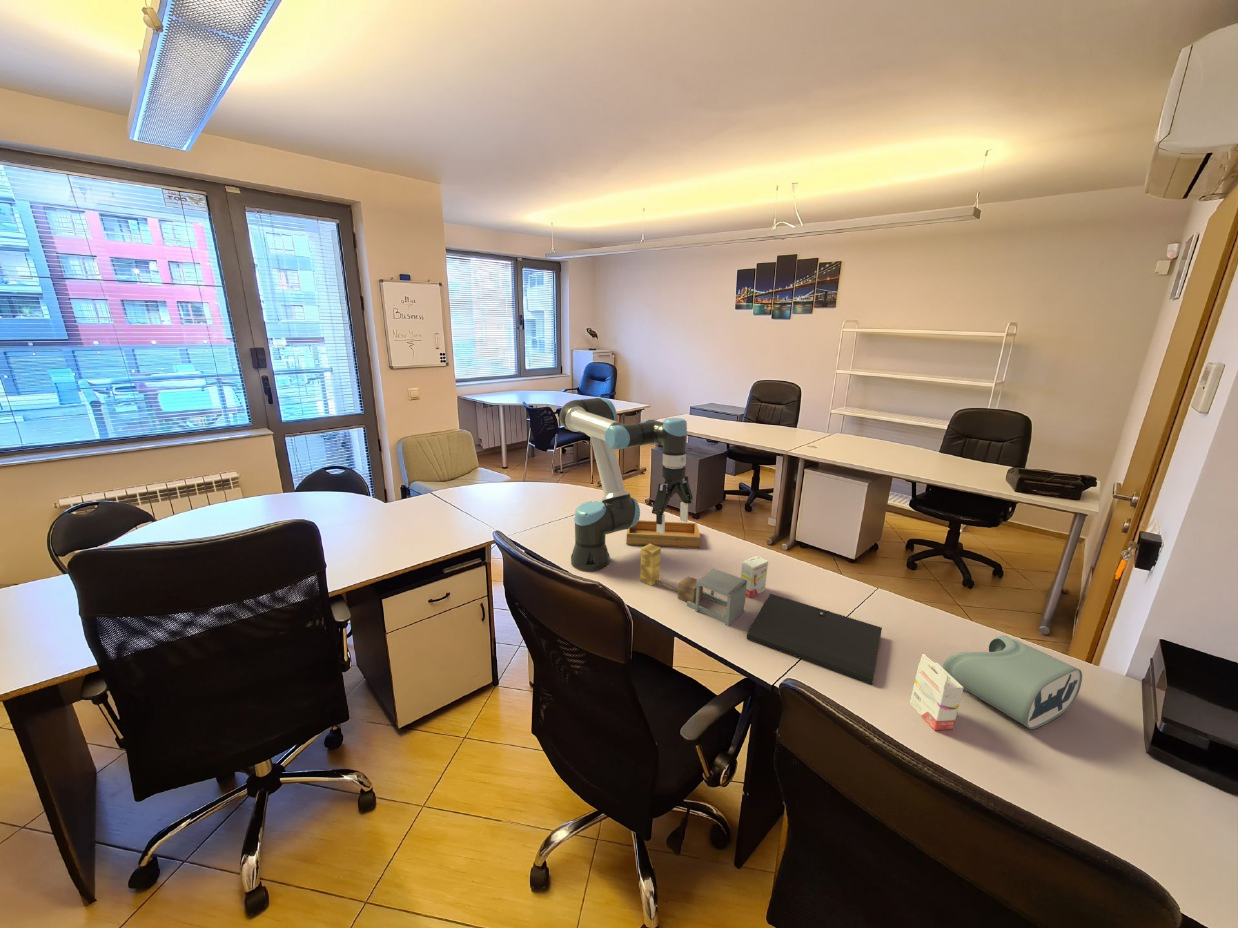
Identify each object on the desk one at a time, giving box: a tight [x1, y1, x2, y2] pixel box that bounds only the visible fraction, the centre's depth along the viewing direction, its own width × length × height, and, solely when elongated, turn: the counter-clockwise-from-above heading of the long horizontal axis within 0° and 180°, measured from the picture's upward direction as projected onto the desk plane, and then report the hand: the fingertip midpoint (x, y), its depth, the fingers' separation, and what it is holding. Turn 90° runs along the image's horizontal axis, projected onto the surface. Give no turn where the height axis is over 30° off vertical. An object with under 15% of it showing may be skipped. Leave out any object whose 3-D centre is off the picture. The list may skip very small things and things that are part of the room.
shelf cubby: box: [686, 567, 747, 627], centre depth 150 cm, size 16×11×11 cm
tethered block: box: [639, 544, 704, 604], centre depth 161 cm, size 22×6×13 cm, turn 50°
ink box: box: [740, 555, 769, 599], centre depth 160 cm, size 9×5×12 cm, turn 126°
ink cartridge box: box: [909, 653, 964, 731], centre depth 109 cm, size 9×5×15 cm, turn 5°
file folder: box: [746, 593, 883, 685], centre depth 138 cm, size 33×4×24 cm
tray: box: [625, 519, 701, 549], centre depth 201 cm, size 31×15×6 cm, turn 86°
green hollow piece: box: [942, 635, 1083, 730], centre depth 116 cm, size 22×19×13 cm
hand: (672, 526), depth 157 cm, fingers open, 13 cm apart
